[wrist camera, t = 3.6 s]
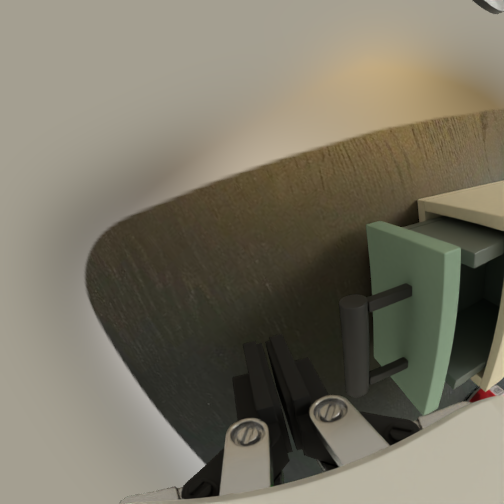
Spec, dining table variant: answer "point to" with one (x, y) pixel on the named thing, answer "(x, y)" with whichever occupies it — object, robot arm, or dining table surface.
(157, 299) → the dining table surface
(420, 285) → the drawer
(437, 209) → the small storage cabinet
